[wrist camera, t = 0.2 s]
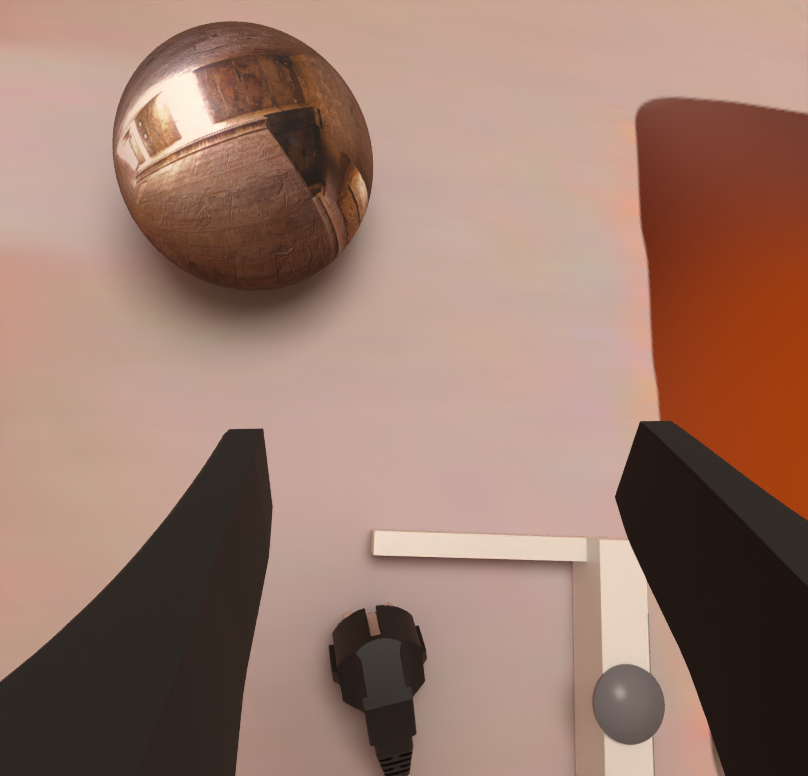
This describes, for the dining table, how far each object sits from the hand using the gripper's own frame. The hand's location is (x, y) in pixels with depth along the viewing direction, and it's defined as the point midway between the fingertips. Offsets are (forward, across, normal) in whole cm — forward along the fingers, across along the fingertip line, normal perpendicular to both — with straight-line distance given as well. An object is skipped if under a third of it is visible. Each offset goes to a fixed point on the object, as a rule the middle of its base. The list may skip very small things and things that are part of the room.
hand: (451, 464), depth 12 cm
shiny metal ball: (+36, +8, +9) cm, 37 cm away
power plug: (+12, 0, +31) cm, 34 cm away
